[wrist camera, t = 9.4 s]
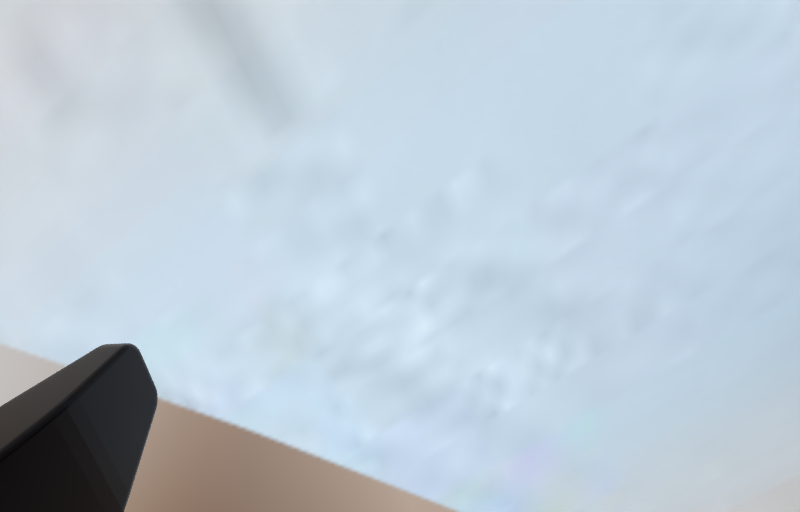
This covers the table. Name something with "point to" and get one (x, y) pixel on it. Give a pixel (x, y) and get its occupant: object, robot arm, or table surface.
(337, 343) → the table surface
